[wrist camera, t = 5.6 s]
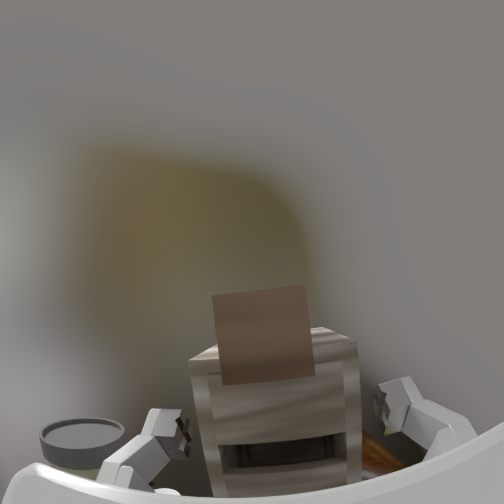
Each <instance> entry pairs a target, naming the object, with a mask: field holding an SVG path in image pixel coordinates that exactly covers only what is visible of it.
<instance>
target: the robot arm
mask: <svg viewBox="0 0 504 504" xmlns="http://www.w3.org/2000/svg"><path fill="white" fill-rule="evenodd" d="M375 392H376V394H377V395H376V396H375V397H374V403H373V404H374V411H375V414H376V417H377V418H379V419H380V424H379V425H380V427H381V430H382V433H383V435H388V434H392V433H395V432H399V431H402V432H403V433H405V434H406V435H407V436H409V437H410V438H411V439H413V440H414V441H416V442H417V443H419V444H420V445H421V446H423V447H424V448H426V449H427V450H428V452H427V454H426V456H425V458H424V460H423V461H422V462H421V463H419V464H416V465H413V466H411V467H408V468H405V469H402V470H399V471H396V472H393V473H390V474H387V475H383V476H380V477H376V478H373V479H369V480H365V481H362V482H357V483H353V484H349V485H345V486H340V487H335V488H330V489H324V490H319V491H312V492H306V493H298V494H290V495H280V496H268V497H251V498H206V497H189V496H177V495H168V494H160V493H156V492H155V491H154V490H153V489H152V488H151V487H150V486H149V485H148V483H149V482H150V481H151V480H152V479H153V478H154V477H155V476H156V475H157V473H159V472H160V470H161V469H162V468H163V467H164V466H165V465H166V464H167V463H168V462H169V461H170V459H188V458H189V453H190V446H189V444H188V443H189V442H190V441H191V440H192V437H193V428H192V424H191V422H190V421H189V420H188V419H186V417H187V414H186V412H185V410H174V409H173V410H172V409H151V410H150V411H149V413H148V416H147V419H146V422H145V425H144V428H143V430H142V433H141V435H137V436H136V437H135V438H133V439H132V440H131V441H129V442H128V443H127V444H126V445H124V446H123V447H122V448H120V449H119V450H118V451H116V452H115V453H114V454H112V455H111V456H110V457H108V458H107V459H106V460H104V461H103V464H102V466H101V469H100V471H99V474H98V476H97V479H96V481H94V480H90V479H87V478H83V477H80V476H76V475H73V474H70V473H67V472H64V471H61V470H58V469H55V468H53V467H50V466H47V465H44V464H42V463H33V464H31V465H29V466H27V467H26V468H24V469H22V470H21V471H19V472H18V473H16V474H15V476H14V477H13V478H12V480H11V482H10V484H9V486H8V489H7V491H6V494H5V496H4V498H3V501H2V504H504V422H502V423H501V424H499V425H497V426H496V427H494V428H492V429H490V430H489V431H487V432H486V433H483V434H482V435H480V436H477V434H476V433H475V431H474V429H473V427H472V426H471V424H470V423H469V421H468V419H467V418H466V417H464V416H462V415H460V414H457V413H455V412H453V411H451V410H449V409H447V408H445V407H442V406H440V405H438V404H436V403H434V402H432V401H430V400H428V399H426V400H424V399H423V397H422V395H421V394H420V392H419V391H418V389H417V387H416V385H415V384H414V382H413V380H412V379H411V377H410V376H406V377H403V378H399V379H396V380H392V381H389V382H385V383H382V384H378V385H377V386H376V389H375Z"/></svg>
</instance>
